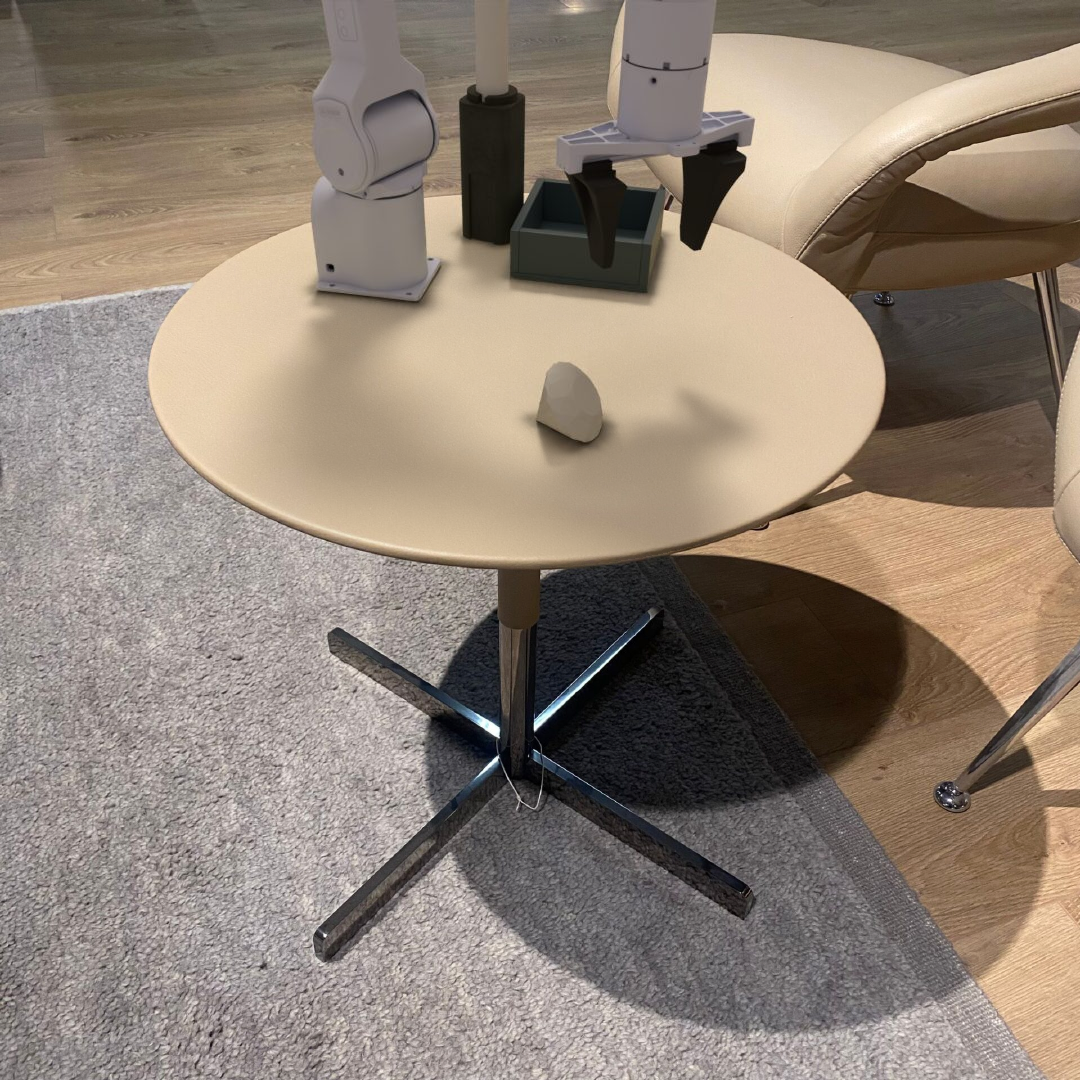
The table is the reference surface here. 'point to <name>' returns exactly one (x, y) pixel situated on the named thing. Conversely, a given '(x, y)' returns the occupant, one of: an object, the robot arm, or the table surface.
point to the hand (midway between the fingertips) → (646, 254)
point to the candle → (491, 133)
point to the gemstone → (570, 403)
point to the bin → (584, 239)
